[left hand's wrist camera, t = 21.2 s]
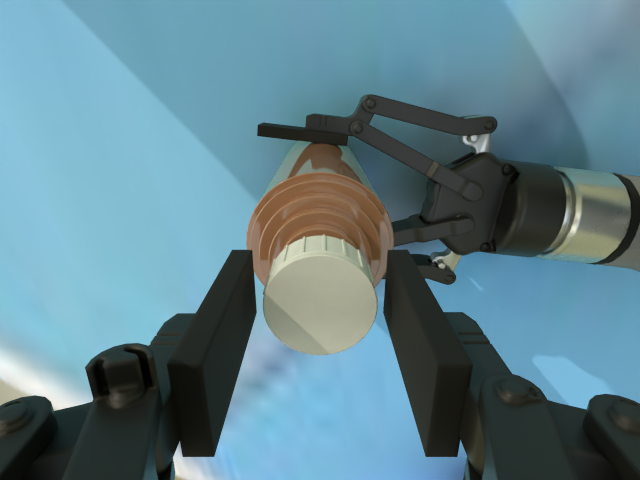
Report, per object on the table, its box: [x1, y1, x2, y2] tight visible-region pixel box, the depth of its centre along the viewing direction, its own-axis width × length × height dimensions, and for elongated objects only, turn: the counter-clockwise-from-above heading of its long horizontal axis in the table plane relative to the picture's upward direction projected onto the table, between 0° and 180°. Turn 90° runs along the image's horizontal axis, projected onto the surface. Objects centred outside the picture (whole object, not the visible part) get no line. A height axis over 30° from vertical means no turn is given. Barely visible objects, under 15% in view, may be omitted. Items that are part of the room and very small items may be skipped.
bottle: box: [246, 141, 394, 288], centre depth 25 cm, size 7×7×24 cm
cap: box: [263, 234, 377, 355], centre depth 14 cm, size 4×4×2 cm
